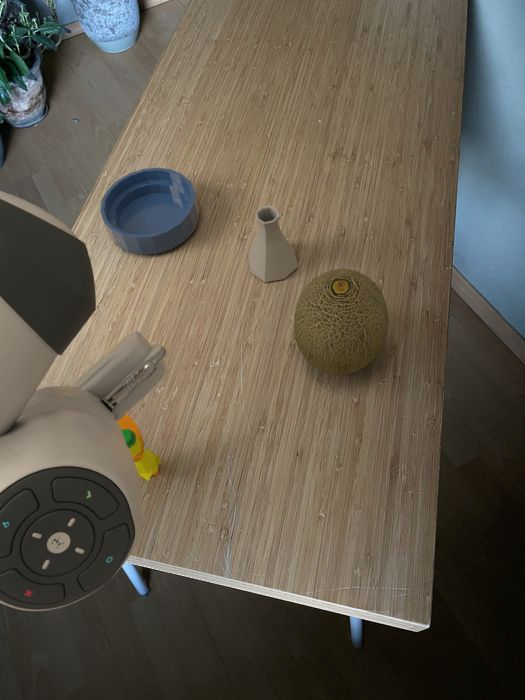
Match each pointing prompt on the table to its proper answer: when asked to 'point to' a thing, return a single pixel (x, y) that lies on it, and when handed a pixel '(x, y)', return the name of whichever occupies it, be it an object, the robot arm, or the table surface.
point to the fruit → (340, 321)
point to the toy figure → (139, 449)
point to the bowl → (150, 210)
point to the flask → (271, 248)
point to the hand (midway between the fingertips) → (60, 412)
